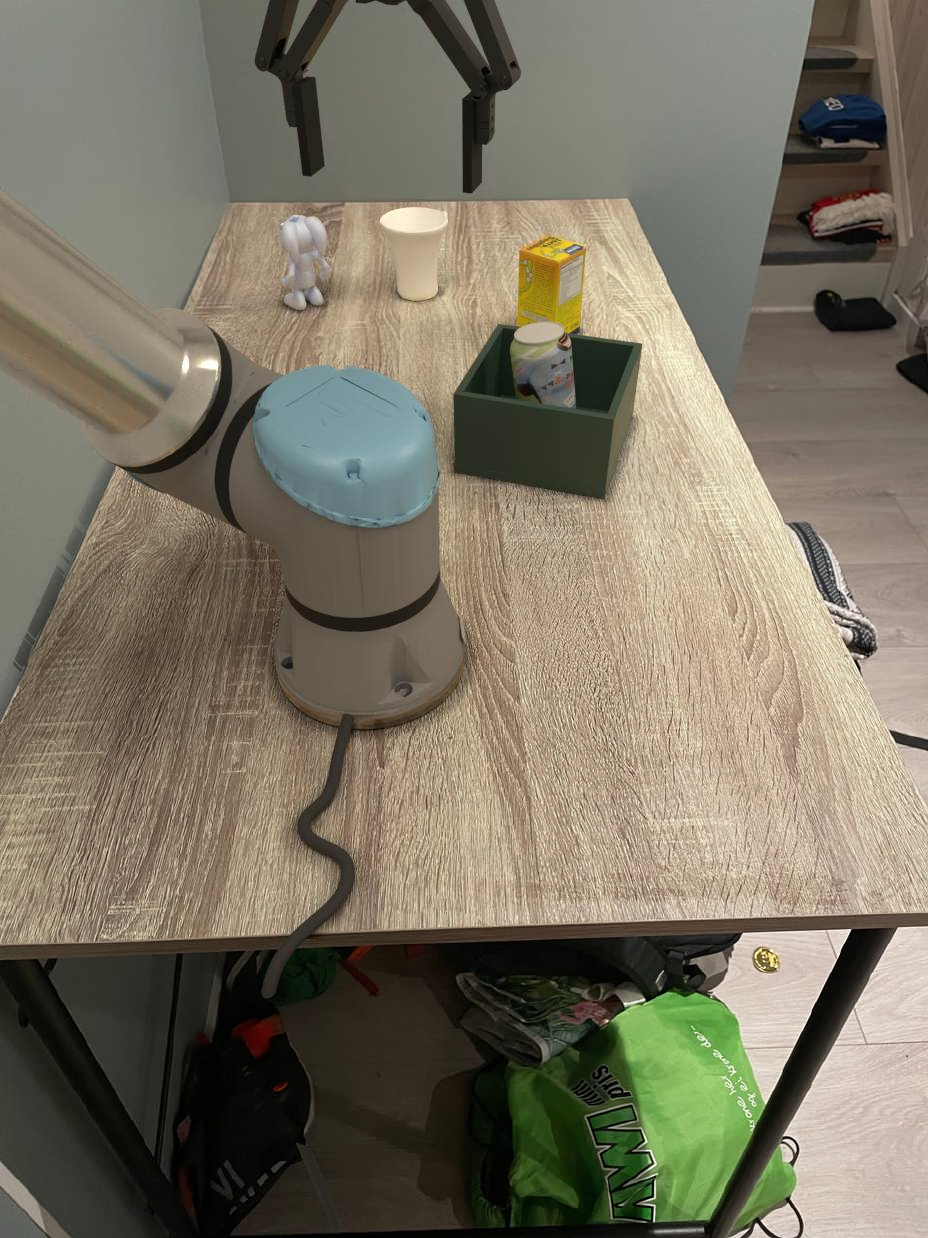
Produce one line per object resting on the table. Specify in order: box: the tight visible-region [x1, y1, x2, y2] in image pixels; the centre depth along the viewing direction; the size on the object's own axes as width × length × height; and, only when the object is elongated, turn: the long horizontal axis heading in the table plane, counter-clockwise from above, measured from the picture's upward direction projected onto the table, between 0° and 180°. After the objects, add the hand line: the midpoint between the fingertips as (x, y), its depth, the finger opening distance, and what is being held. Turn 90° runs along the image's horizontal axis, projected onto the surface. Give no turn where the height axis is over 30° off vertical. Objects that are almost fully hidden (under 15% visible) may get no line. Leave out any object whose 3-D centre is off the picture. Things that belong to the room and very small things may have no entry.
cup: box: [379, 206, 449, 302], centre depth 122 cm, size 9×9×10 cm
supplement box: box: [516, 234, 587, 334], centre depth 112 cm, size 6×6×11 cm
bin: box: [452, 323, 643, 500], centre depth 94 cm, size 16×16×9 cm
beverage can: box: [510, 321, 576, 409], centre depth 92 cm, size 6×7×12 cm
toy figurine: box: [278, 214, 332, 311], centre depth 118 cm, size 7×6×12 cm
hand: (391, 179), depth 73 cm, fingers open, 13 cm apart
